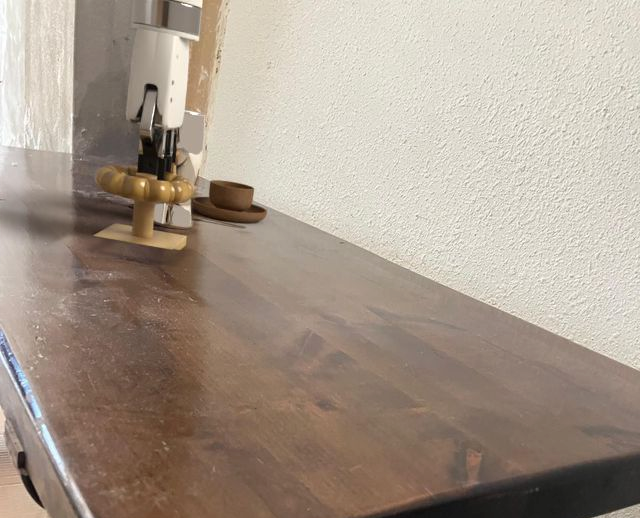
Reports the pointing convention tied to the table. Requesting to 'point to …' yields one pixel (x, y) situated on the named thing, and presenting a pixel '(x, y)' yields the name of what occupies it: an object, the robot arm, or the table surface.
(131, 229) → the post
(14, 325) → the table surface
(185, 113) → the beer glass
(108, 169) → the ring
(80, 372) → the table surface
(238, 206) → the place setting
